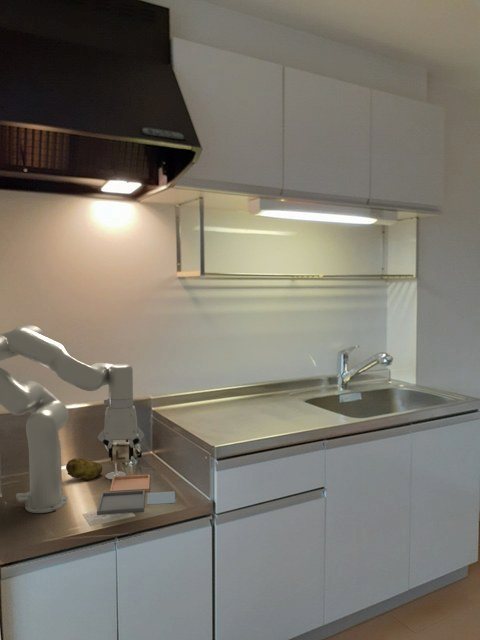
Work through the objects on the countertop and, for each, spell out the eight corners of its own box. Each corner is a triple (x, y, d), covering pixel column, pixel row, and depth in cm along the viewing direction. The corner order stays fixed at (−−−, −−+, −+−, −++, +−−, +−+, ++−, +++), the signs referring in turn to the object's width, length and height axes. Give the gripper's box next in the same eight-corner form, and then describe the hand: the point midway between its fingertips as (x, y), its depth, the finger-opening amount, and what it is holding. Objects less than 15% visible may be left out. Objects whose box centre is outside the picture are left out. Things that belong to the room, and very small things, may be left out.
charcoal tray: (97, 515, 153) (97, 511, 153) (102, 497, 167) (102, 492, 167) (143, 512, 155) (143, 508, 155) (144, 494, 169) (144, 490, 169)
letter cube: (112, 463, 157) (112, 447, 157) (114, 457, 162) (113, 442, 162) (128, 462, 158) (128, 446, 158) (129, 457, 163) (129, 441, 163)
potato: (104, 480, 181) (103, 458, 181) (66, 485, 177) (66, 463, 176) (101, 472, 189) (101, 451, 189) (65, 477, 184) (65, 455, 184)
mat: (147, 506, 160) (147, 504, 160) (147, 494, 169) (147, 493, 169) (175, 504, 161) (175, 502, 161) (174, 493, 170) (174, 491, 170)
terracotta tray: (110, 495, 168) (110, 491, 168) (113, 480, 181) (113, 476, 181) (149, 492, 170) (149, 488, 170) (149, 478, 183) (149, 474, 183)
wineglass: (120, 470, 191) (119, 419, 190) (130, 476, 185) (129, 423, 184) (101, 475, 186) (100, 422, 184) (111, 481, 180) (110, 427, 179)
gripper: (91, 406, 154) (92, 464, 155) (147, 405, 157) (148, 461, 158) (94, 401, 161) (95, 456, 162) (148, 399, 164) (148, 453, 165)
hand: (121, 458), depth 160 cm, fingers closed on letter cube, 4 cm apart
